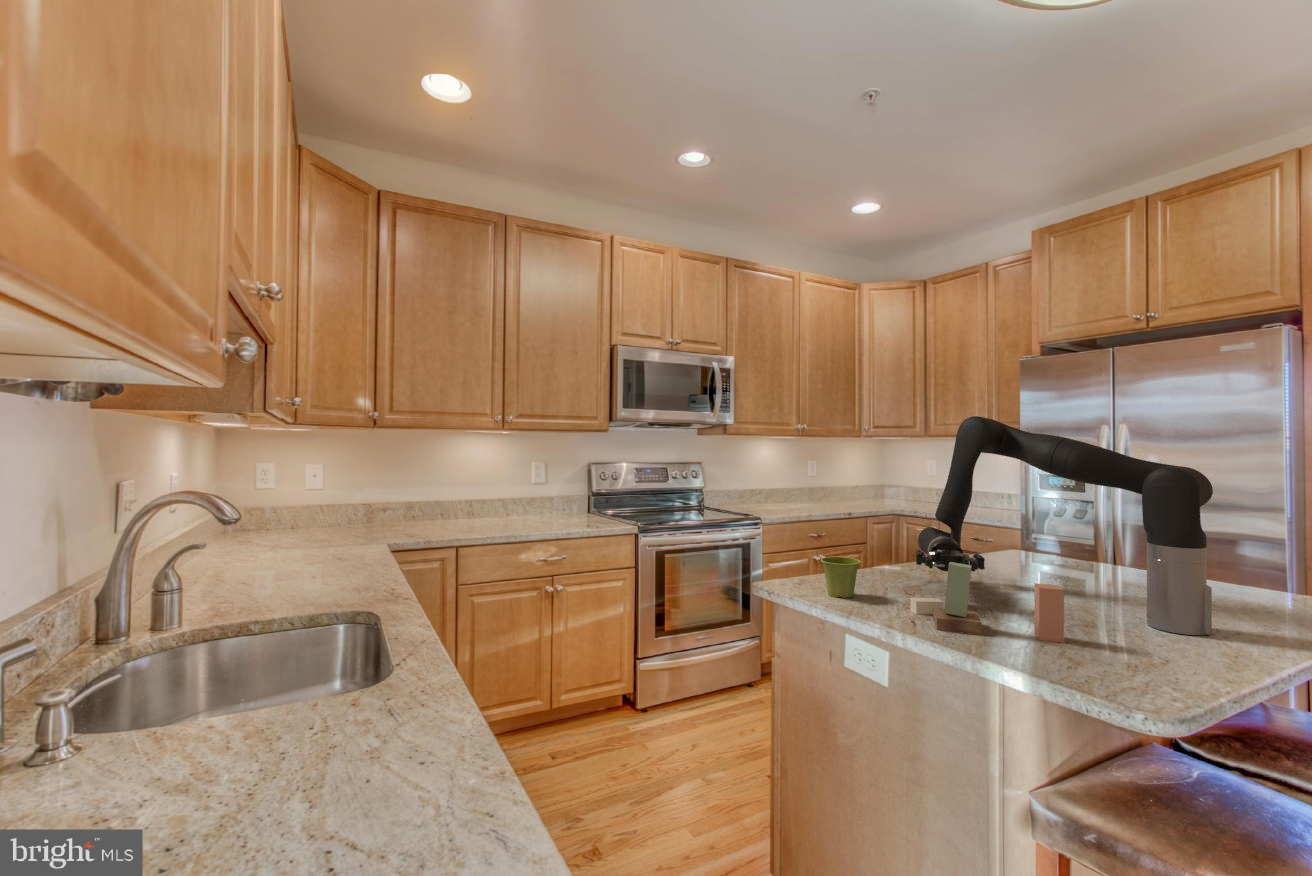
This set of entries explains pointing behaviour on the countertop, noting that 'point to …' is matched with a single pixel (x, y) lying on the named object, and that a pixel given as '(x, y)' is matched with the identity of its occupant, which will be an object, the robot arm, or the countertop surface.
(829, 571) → the object
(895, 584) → the countertop surface
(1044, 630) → the terracotta block
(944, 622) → the walnut brick
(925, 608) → the cream brick
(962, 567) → the sage block
